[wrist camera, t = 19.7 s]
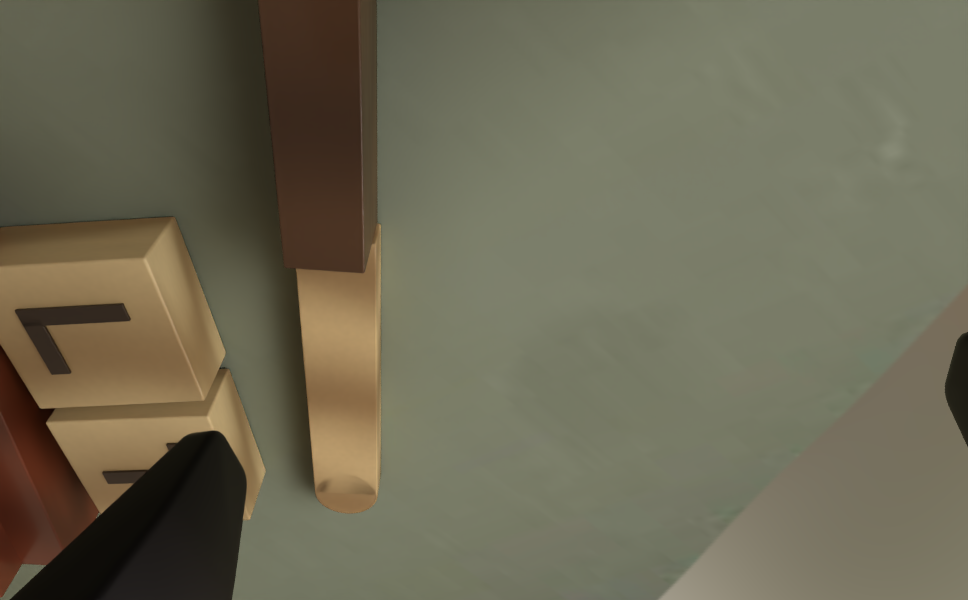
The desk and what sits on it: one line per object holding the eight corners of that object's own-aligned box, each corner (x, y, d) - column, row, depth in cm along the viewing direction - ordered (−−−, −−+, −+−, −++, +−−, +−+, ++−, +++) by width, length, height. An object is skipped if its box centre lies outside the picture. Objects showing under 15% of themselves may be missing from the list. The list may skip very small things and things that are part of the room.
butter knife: (275, -128, 16) (240, -113, 14) (380, -118, 16) (363, -101, 14) (322, 487, 29) (308, 547, 27) (380, 491, 29) (372, 551, 27)
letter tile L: (-1, 225, 22) (-50, 271, 20) (175, 215, 21) (143, 260, 19) (74, 361, 25) (37, 412, 23) (227, 353, 25) (204, 404, 23)
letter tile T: (77, 373, 25) (42, 425, 23) (229, 367, 25) (207, 419, 23) (131, 474, 28) (104, 528, 26) (266, 470, 28) (249, 523, 26)
